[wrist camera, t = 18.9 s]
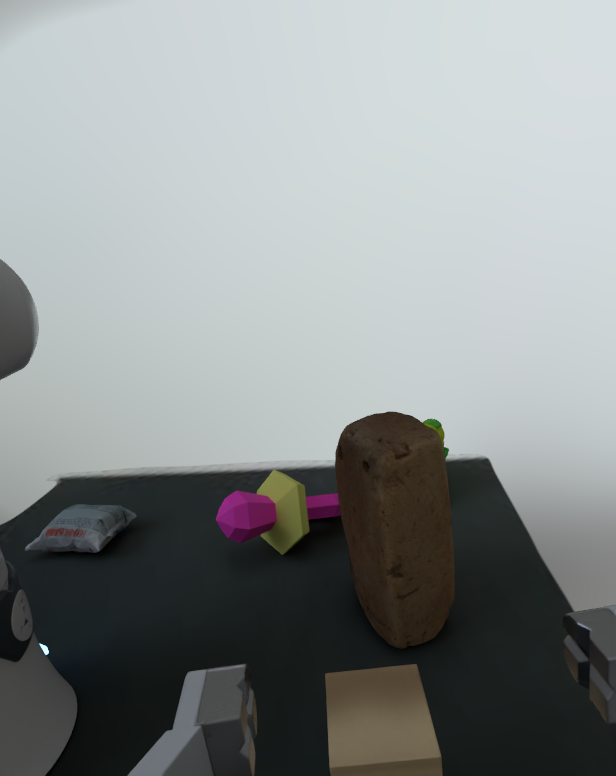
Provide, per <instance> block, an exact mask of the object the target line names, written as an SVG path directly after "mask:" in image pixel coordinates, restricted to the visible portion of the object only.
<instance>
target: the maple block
mask: <svg viewBox="0 0 616 776" xmlns="http://www.w3.org/2000/svg"><path fill="white" fill-rule="evenodd" d="M325 680H326V701H327V722H328V744H329V765H330V773H331V776H443V775H442V760H441V753H440V750H439V746H438V742H437V738H436V735H435V731H434V727H433V723H432V720H431V716H430V712H429V708H428V705H427V701H426V697H425V694H424V690H423V686H422V682H421V679H420V675H419V671H418V667H417V665H416V664H412V665H402V666H392V667H383V668H373V669H364V670H354V671H344V672H335V673H326V674H325Z"/></svg>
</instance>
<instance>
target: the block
mask: <svg viewBox="0 0 616 776" xmlns="http://www.w3.org/2000/svg"><path fill="white" fill-rule="evenodd" d="M335 468H336V480H337V492H338V500H339V506H340V511H341V517H342V522H343V527H344V532H345V536H346V539H347V542H348V548H349V561H350V566H351V572H352V577H353V582H354V586H355V589H356V592H357V595H358V598H359V601H360V604H361V606H362V608H363V610H364V612H365V614H366V616H367V618H368V620H369V622H370V623H371V625H372V626H373V628H374V629H375V630H376V631H377V633H378V634H379V635H380V636H381V637H382V638H383V639H384V640H385V641H386V642H387V643H388V644H390V645H391V646H393V647H396V648H400V649H402V648H406V647H407V646H415V645H419V644H422V643H424V642H427V641H429V640H431V639H433V638H434V637H436V635H437V634H438V632H439V631H440V630H441V629H442V627H443V625H444V623H445V621H446V620H447V618H448V617H449V610H450V607H451V605H452V604H453V602H454V597H455V589H454V587H455V575H454V546H453V532H452V519H451V507H450V496H449V489H448V477H447V470H446V463H445V457H444V450H443V446H442V442H441V438H440V436H439V434H438V432H437V431H436V430H434V429H433V428H431V427H428V426H427V425H425V424H423V423H422V422H420V421H419V420H418V419H416V418H414V417H413V416H410V415H405V414H402V413H398V412H386V413H380V414H373V415H370V416H367V417H364V418H362V419H360V420H357V421H355V422H353V423H351V424H349V425H347V426H346V428H345V429H344V431H343V432H342V434H341V436H340V439H339V443H338V446H337V449H336V462H335Z"/></svg>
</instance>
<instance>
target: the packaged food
mask: <svg viewBox="0 0 616 776" xmlns="http://www.w3.org/2000/svg"><path fill="white" fill-rule="evenodd" d="M136 516H137V515H136V514H134V513H133V512H131V511H129V510H128V509H126V508H124V507H121V506H119V505H83V504H77V505H74V506H71V507H69V508H67V509H65V510H63V511H62V512H61V513H60V514H59V515H58V516H57V517H55V518H54V519H53V520H52V521H51V523H50V524H49V525H48V526H47V527H46V528H45V529H44V530H43V531H42V533H41V535H40V536H39V537H38V538H36V539H35V540H34V541H33V542H32V543H31V544H29V545H28V546H27V547H26V548H25V550H27V551H28V550H36V549H41V550H43V551H45V552H65V551H75V552H77V553H78V552H92V553H97V552H99V551H100V550H101V549H103V547H104V546H105V545H106V544H107V543H108V542H109V541H110V540H111V539H112V538H113V537H114V536H116V535H117V534H118V533H119V532H120V531H122V530H123V529H124V528H125V527H126V526H127V525H129V523H130V522H131V521H132V520H133V519H134V518H136Z"/></svg>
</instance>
